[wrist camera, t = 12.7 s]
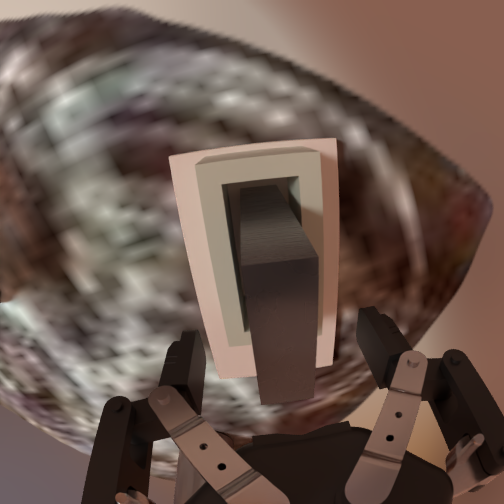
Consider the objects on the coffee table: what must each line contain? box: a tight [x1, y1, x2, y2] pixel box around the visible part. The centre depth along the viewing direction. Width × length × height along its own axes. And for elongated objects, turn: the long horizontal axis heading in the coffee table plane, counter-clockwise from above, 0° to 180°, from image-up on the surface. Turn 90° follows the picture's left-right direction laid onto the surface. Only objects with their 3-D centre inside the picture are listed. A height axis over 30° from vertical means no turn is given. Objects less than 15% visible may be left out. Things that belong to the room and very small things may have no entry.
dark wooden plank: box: [240, 185, 319, 405], centre depth 19 cm, size 9×3×14 cm, turn 6°
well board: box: [169, 138, 339, 379], centre depth 26 cm, size 26×14×6 cm, turn 6°
